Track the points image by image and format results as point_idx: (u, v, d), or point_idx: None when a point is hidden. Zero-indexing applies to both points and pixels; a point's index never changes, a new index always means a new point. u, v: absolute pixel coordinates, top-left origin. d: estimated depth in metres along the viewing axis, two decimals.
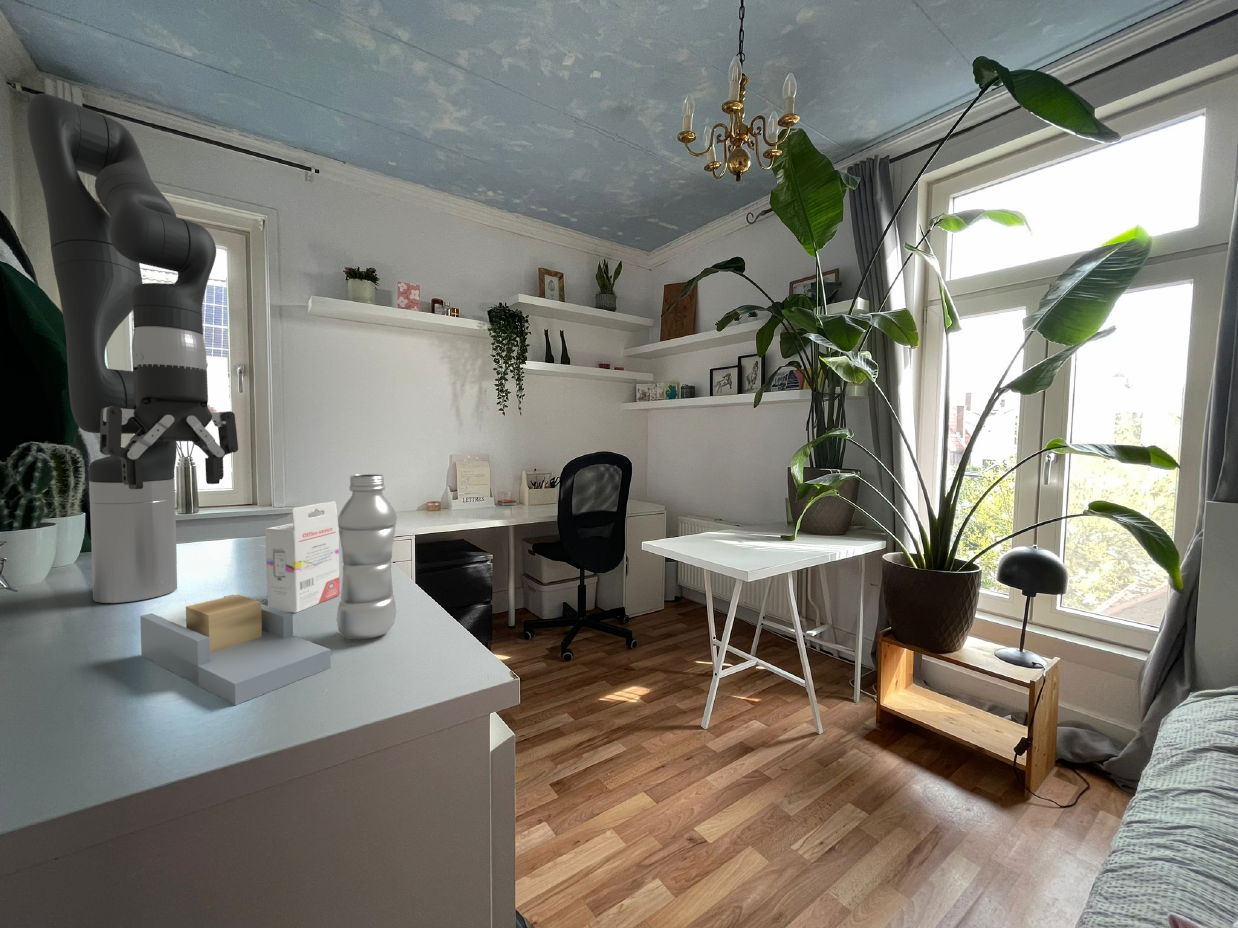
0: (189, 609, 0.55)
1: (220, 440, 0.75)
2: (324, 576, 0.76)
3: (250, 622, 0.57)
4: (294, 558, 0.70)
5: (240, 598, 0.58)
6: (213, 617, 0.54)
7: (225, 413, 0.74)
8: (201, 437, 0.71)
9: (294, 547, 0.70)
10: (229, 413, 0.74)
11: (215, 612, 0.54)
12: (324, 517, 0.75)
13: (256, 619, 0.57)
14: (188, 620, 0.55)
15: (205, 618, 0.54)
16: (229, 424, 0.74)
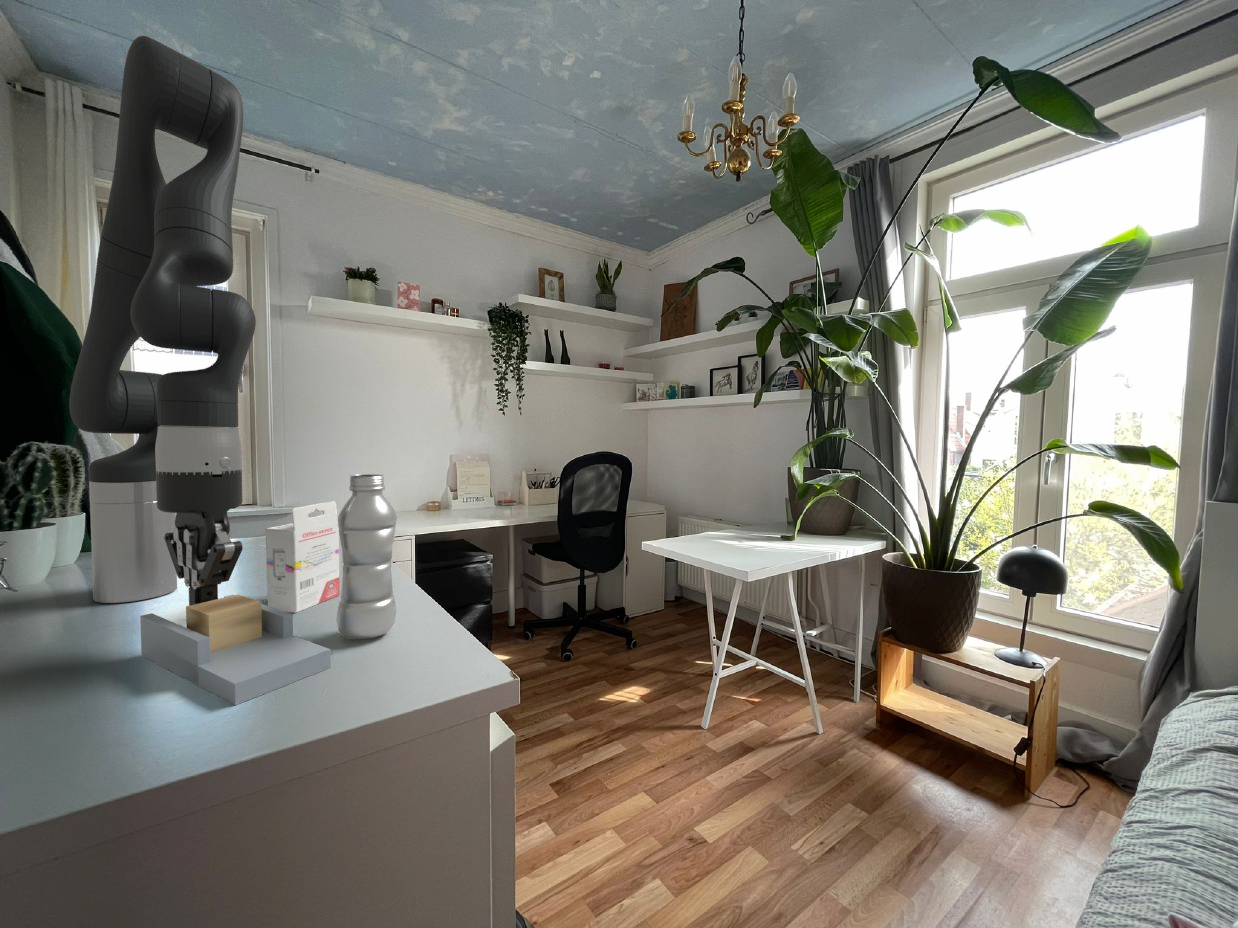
0: (189, 609, 0.55)
1: None
2: (324, 576, 0.76)
3: (250, 622, 0.57)
4: (294, 558, 0.70)
5: (241, 598, 0.58)
6: (213, 617, 0.54)
7: None
8: None
9: (294, 547, 0.70)
10: None
11: (215, 612, 0.54)
12: (324, 517, 0.75)
13: (256, 619, 0.57)
14: (188, 620, 0.55)
15: (205, 619, 0.54)
16: None
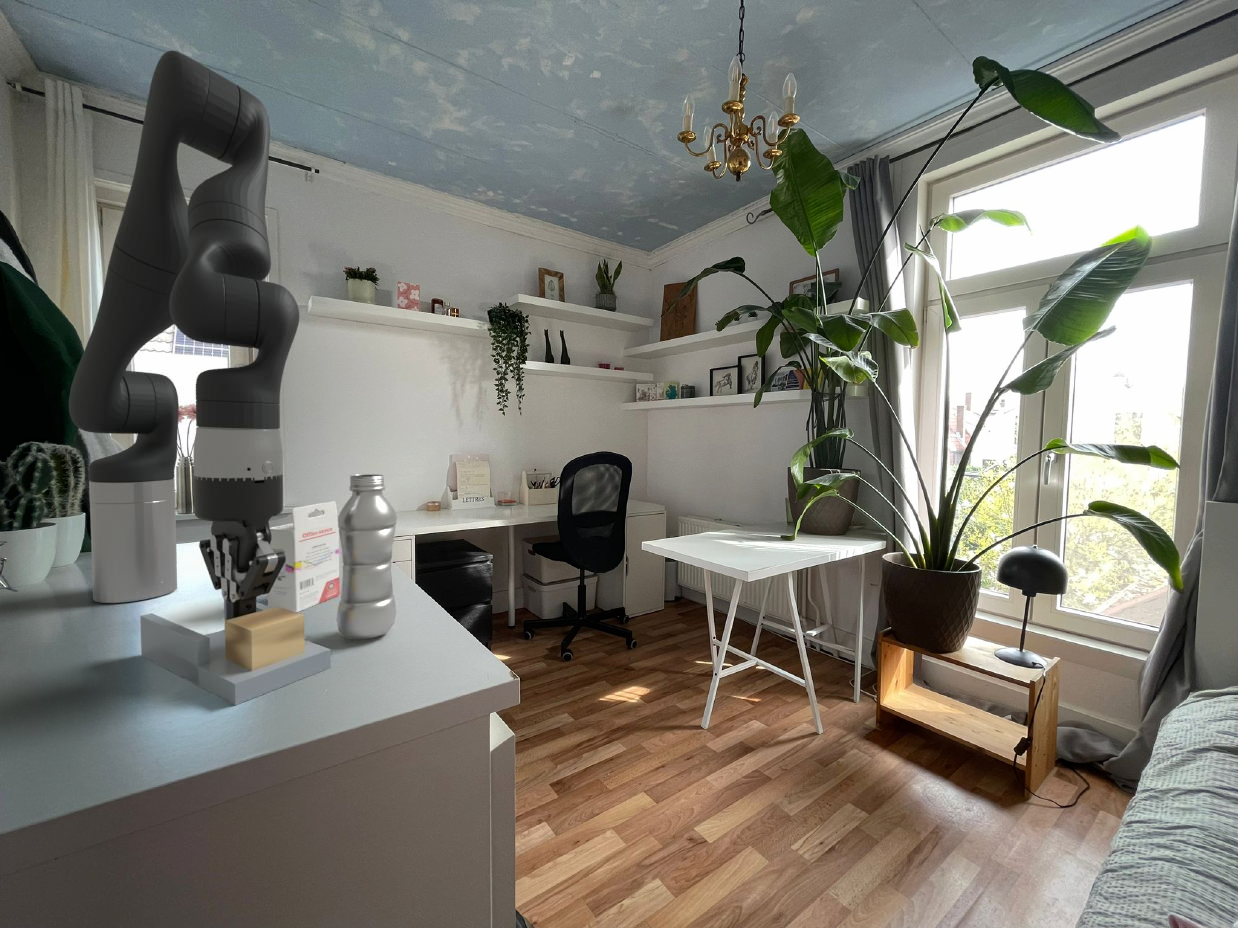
0: (229, 623, 0.51)
1: None
2: (324, 576, 0.76)
3: (293, 637, 0.53)
4: (294, 558, 0.70)
5: (281, 611, 0.55)
6: (256, 633, 0.50)
7: None
8: None
9: (294, 547, 0.70)
10: None
11: (258, 627, 0.50)
12: (324, 517, 0.75)
13: (299, 634, 0.53)
14: (227, 635, 0.52)
15: (247, 634, 0.50)
16: None
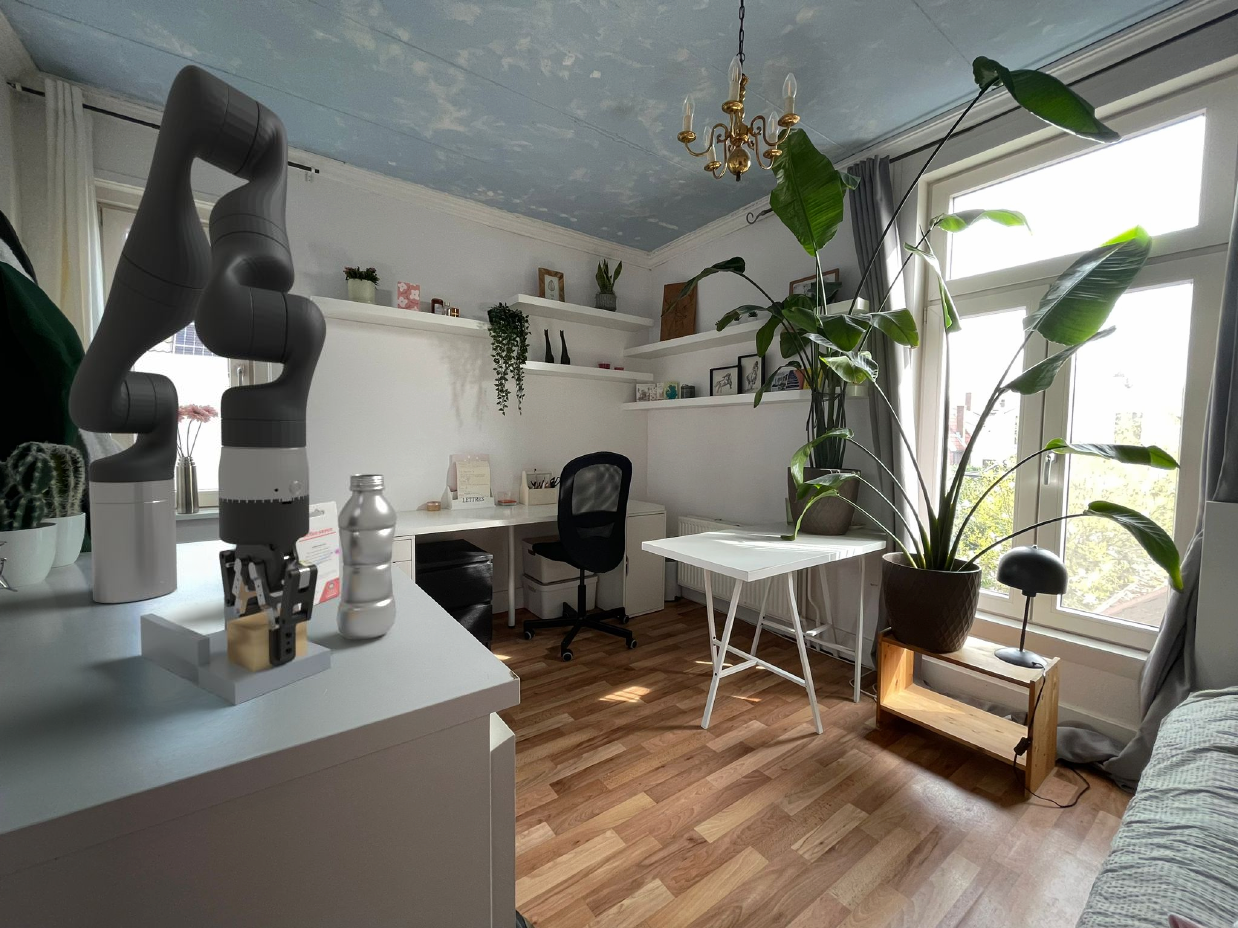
0: (231, 624, 0.51)
1: (231, 589, 0.54)
2: (324, 576, 0.76)
3: None
4: None
5: None
6: (258, 633, 0.50)
7: None
8: None
9: None
10: None
11: (260, 628, 0.50)
12: (324, 517, 0.75)
13: (301, 634, 0.53)
14: (229, 636, 0.51)
15: (249, 635, 0.50)
16: None
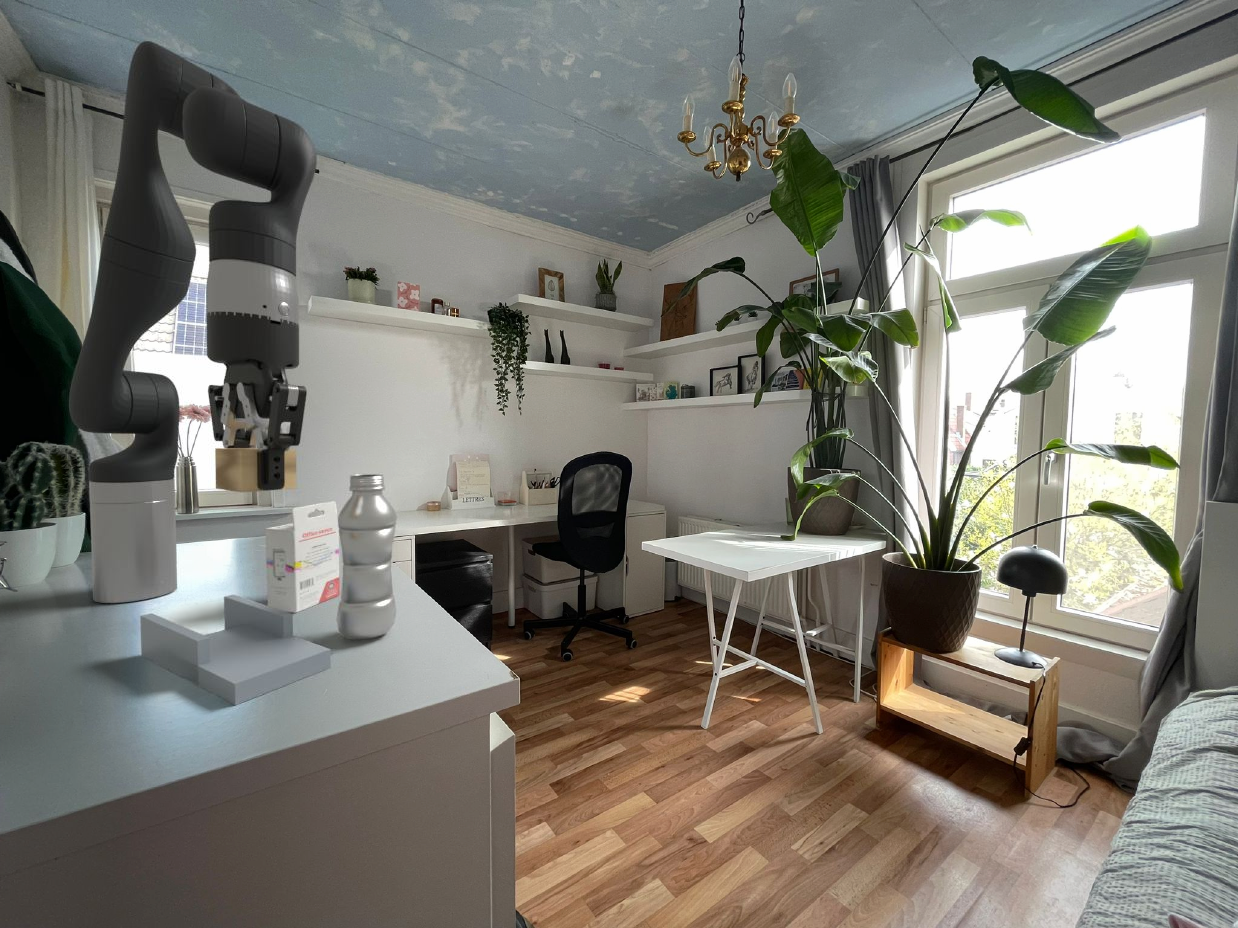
0: (219, 450, 0.51)
1: (220, 423, 0.53)
2: (324, 576, 0.76)
3: None
4: (294, 558, 0.70)
5: None
6: (246, 454, 0.49)
7: None
8: None
9: (294, 547, 0.70)
10: None
11: (248, 450, 0.49)
12: (324, 517, 0.75)
13: (291, 468, 0.53)
14: (217, 463, 0.51)
15: (237, 455, 0.49)
16: None
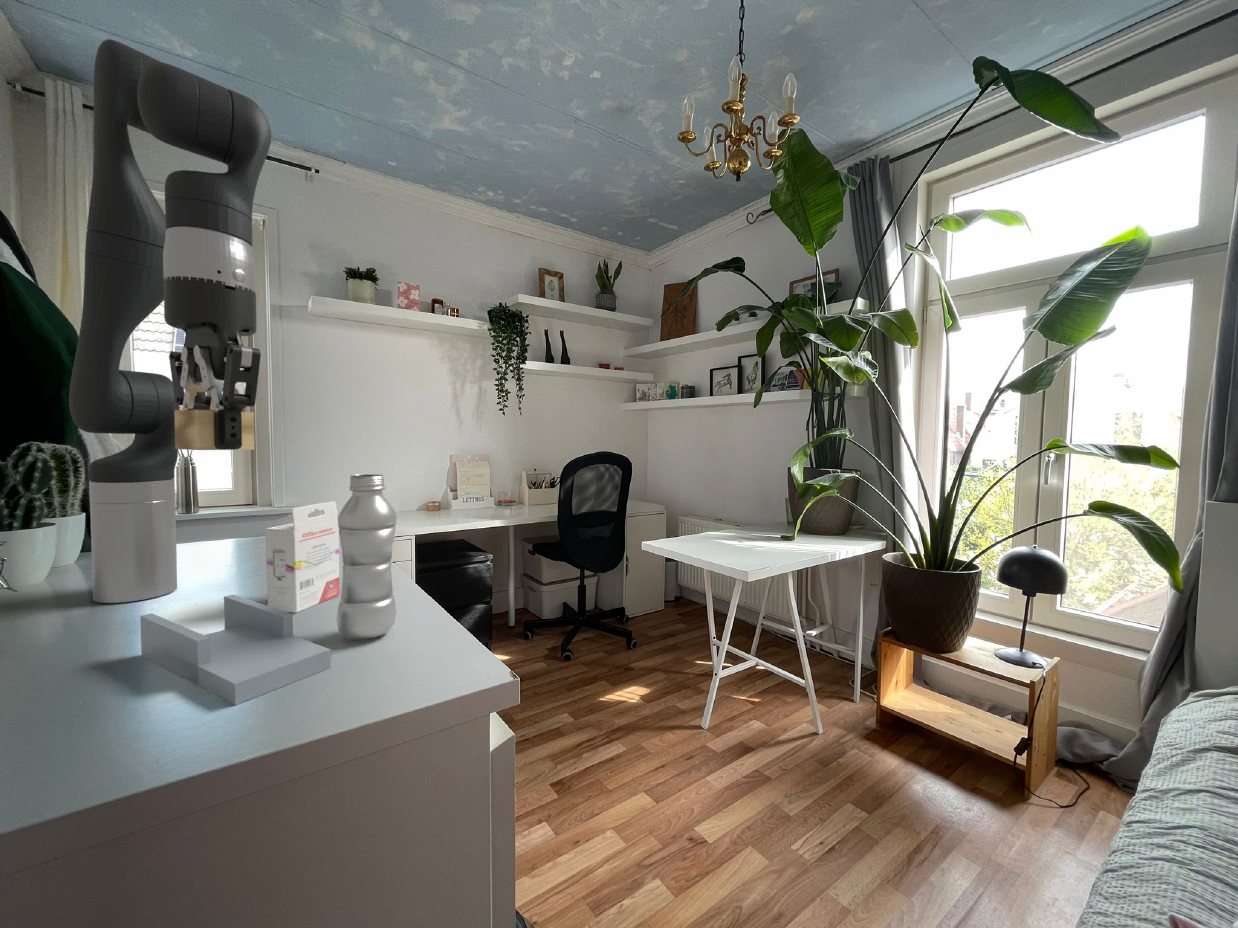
0: (178, 411, 0.53)
1: (181, 387, 0.55)
2: (324, 576, 0.76)
3: (242, 430, 0.54)
4: (294, 558, 0.70)
5: None
6: (202, 413, 0.51)
7: None
8: None
9: (294, 547, 0.70)
10: None
11: (205, 410, 0.51)
12: (324, 517, 0.75)
13: (248, 429, 0.55)
14: (176, 424, 0.53)
15: (194, 415, 0.51)
16: None
